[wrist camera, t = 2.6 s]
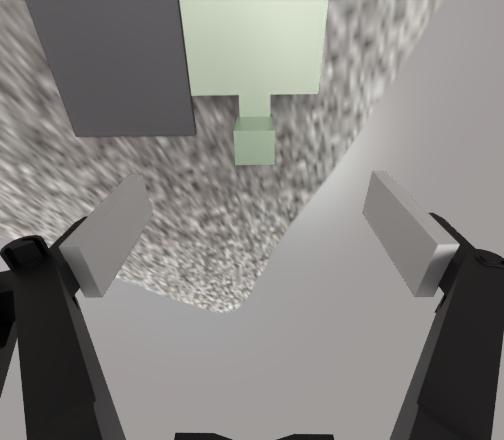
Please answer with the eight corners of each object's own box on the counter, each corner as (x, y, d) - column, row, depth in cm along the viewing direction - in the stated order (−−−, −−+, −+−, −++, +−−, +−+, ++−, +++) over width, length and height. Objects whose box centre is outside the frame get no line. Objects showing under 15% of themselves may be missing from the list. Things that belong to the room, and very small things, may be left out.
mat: (79, 134, 37) (75, 136, 36) (-8, -107, 25) (-17, -112, 24) (196, 133, 37) (194, 135, 36) (165, -113, 25) (162, -118, 24)
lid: (200, 142, 30) (187, 165, 24) (157, -217, 17) (110, -338, 12) (309, 141, 30) (322, 164, 24) (347, -224, 17) (391, -353, 11)
